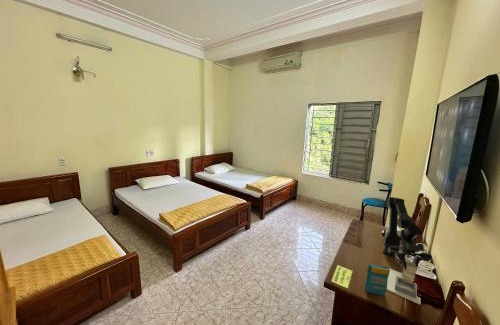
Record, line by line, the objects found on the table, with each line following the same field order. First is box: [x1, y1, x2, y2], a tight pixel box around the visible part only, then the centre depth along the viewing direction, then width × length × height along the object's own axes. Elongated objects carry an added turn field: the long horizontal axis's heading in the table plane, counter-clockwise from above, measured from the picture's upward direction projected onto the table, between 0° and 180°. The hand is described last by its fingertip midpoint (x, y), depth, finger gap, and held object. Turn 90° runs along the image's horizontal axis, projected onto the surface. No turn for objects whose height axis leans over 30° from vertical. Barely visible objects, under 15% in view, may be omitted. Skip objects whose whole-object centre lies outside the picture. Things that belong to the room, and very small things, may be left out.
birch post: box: [401, 259, 418, 284], centre depth 111 cm, size 4×4×10 cm
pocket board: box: [386, 268, 422, 305], centre depth 116 cm, size 20×15×3 cm
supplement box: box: [384, 224, 402, 238], centre depth 155 cm, size 7×7×13 cm
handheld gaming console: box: [364, 263, 391, 297], centre depth 109 cm, size 10×4×15 cm, turn 76°
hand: (410, 270), depth 109 cm, fingers closed on birch post, 4 cm apart
